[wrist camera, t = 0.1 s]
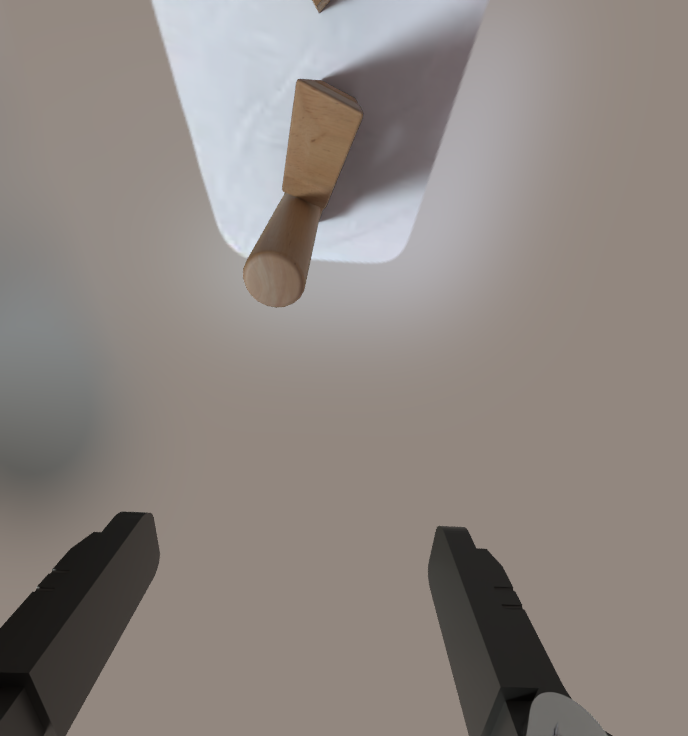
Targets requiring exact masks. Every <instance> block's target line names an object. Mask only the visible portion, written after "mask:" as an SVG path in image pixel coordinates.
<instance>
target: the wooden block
mask: <svg viewBox="0 0 688 736" xmlns="http://www.w3.org/2000/svg"><path fill="white" fill-rule="evenodd" d="M362 118H363V112H362V110H361V107H360V106H359V104H358V103H357V101H356V99H355V98H354V97H352V96H350V95H348V94H346V93H344V92H342V91H341V90H339V89H337V88H335V87H333V86H331V85H329V84H327V83H325V82H324V81H322V80H309V79H298V80H297V82H296V88H295V96H294V103H293V111H292V118H291V125H290V133H289V140H288V148H287V155H286V163H285V170H284V178H283V185H282V190H283V192H285V193H284V196H283V197H282V199H281V201H280V203H279V204H278V206H277V208H276V210H275V211H274V213H273V215H272V217H271V219H270V220H269V222H268V224H267V226H266V227H265V229H264V231H263V233H262V234H261V236H260V238H259V240H258V241H257V243H256V245H255V247H254V249H253V250H252V252H251V254H250V256H249V257H248V259H247V261H246V264H245V266H244V268H243V279H244V282H245V285H246V288H247V290H248V291H249V292H250V294H251V295H252V296H253V297H254V298H255V299H256V300H257V301H258V302H261V303H262V304H265V305H267V306H271V307H285V306H288V305H290V304H292V303H294V302H295V301H297V300H298V299H299V298H300V297H301V295H302V293H303V292H304V288H305V284H306V279H307V275H308V270H309V265H310V260H311V256H312V251H313V246H314V242H315V237H316V232H317V227H318V223H319V219H320V216H321V213H322V211H323V209H325V208H326V206H327V204H328V201H329V199H330V196H331V194H332V191H333V189H334V187H335V184H336V182H337V179H338V177H339V174H340V172H341V169H342V167H343V165H344V162H345V160H346V157H347V155H348V152H349V150H350V148H351V145H352V143H353V140H354V138H355V135H356V133H357V130H358V128H359V126H360V123H361V121H362Z"/></svg>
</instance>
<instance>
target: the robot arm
mask: <svg viewBox="0 0 688 736" xmlns="http://www.w3.org/2000/svg"><path fill="white" fill-rule="evenodd" d="M159 557H160V552H159V545H158V540H157V534H156V528H155V523H154V517H153V515H152V514H151V513H143V512H120V513H118V514H117V515H116V516H115V517H114V518H113V519H112V520H111V521H110V523H109V524H108V525H107V526H106V527H105V529H104V530H103V531H102V532H93V533H92V534H90V535H89V536H88V537H86V538H85V539H83V540H82V541H81V542H79V543H78V544H77V545H75V546H74V547H72V548H71V549H70V550H69V551H68V552H67V553H66V555H65V556H64V557H63V558H62V559H61V560H60V561H59V562H58V564H57V565H56V566H55V567H54V568H53V569H52V572H51V574H48V575H47V576H46V577H45V578H44V579H43V580H42V582H41V583H40V584H39V585H38V586H37V589H36V591H35V592H32V593H31V594H30V595H29V596H28V598H27V599H26V600H25V601H24V602H23V603H22V604H21V605H20V607H19V608H18V609H17V610H16V611H15V612H14V613H13V614H12V616H11V617H10V618H9V619H8V620H7V621H6V622H5V623H4V625H3V626H2V627H1V628H0V736H66V734H67V732H68V730H69V729H70V727H71V725H72V723H73V721H74V719H75V718H76V716H77V714H78V712H79V711H80V709H81V707H82V705H83V703H84V702H85V700H86V698H87V696H88V694H89V693H90V691H91V689H92V687H93V685H94V684H95V682H96V680H97V678H98V676H99V675H100V673H101V671H102V669H103V668H104V666H105V664H106V662H107V660H108V659H109V657H110V655H111V653H112V651H113V650H114V648H115V646H116V644H117V642H118V641H119V639H120V637H121V635H122V633H123V632H124V630H125V628H126V626H127V624H128V623H129V621H130V619H131V617H132V616H133V614H134V612H135V610H136V608H137V607H138V605H139V603H140V601H141V599H142V598H143V596H144V594H145V592H146V590H147V588H148V587H149V585H150V583H151V581H152V580H153V578H154V576H155V573H156V571H157V568H158V564H159ZM428 579H429V585H430V590H431V594H432V598H433V601H434V605H435V609H436V613H437V617H438V620H439V624H440V628H441V632H442V636H443V639H444V643H445V647H446V651H447V655H448V658H449V662H450V666H451V669H452V673H453V677H454V681H455V685H456V688H457V692H458V696H459V700H460V704H461V707H462V711H463V715H464V719H465V722H466V726H467V730H468V733H469V736H612V735H610V734H609V733H607V732H606V731H604V730H603V728H602V727H601V726H600V724H599V723H598V722H597V721H596V720H595V719H594V718H593V716H592V715H591V714H590V713H589V712H587V711H586V710H585V709H584V708H583V707H582V706H581V705H579V704H578V703H577V702H575V701H573V700H572V699H571V697H570V696H569V694H568V693H567V691H566V690H565V688H564V686H563V685H562V683H561V681H560V679H559V677H558V675H557V673H556V671H555V669H554V667H553V665H552V663H551V661H550V659H549V657H548V655H547V653H546V651H545V649H544V647H543V645H542V643H541V641H540V639H539V637H538V635H537V633H536V631H535V630H534V628H533V626H532V624H531V622H530V620H529V618H528V616H527V614H526V612H525V610H523V609H522V604H521V602H520V600H519V598H518V596H517V594H516V592H515V591H513V587H512V584H511V582H510V581H509V579H508V576H507V575H506V573H505V570H504V569H503V567H502V566H501V564H500V563H499V562H498V561H497V560H496V559H495V558H494V557H493V556H492V555H491V554H490V552H489V551H488V550H487V549H476V547H475V545H474V543H473V540H472V538H471V536H470V534H469V532H468V530H467V529H466V528H465V527H448V526H438V527H437V529H436V532H435V537H434V542H433V546H432V550H431V555H430V559H429V564H428Z"/></svg>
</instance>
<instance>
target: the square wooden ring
mask: <svg viewBox="0 0 688 736" xmlns="http://www.w3.org/2000/svg"><path fill="white" fill-rule="evenodd" d="M312 1H313V3H314V5H315V7H316V8H317V10H318V12H319V13H320V12H321V11H322V9H323V8H324V7H325V6H326V5H327V4H328V3H329V2H330V0H312Z"/></svg>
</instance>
